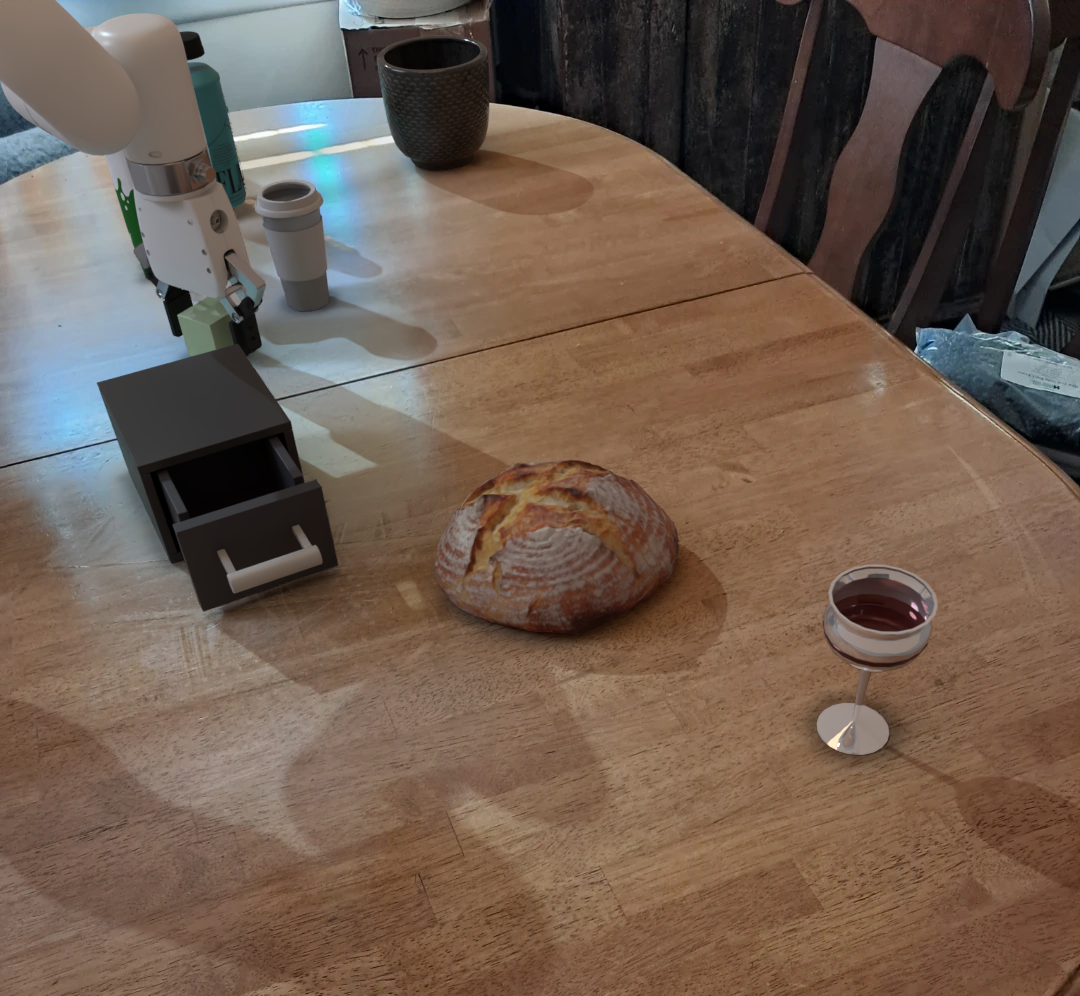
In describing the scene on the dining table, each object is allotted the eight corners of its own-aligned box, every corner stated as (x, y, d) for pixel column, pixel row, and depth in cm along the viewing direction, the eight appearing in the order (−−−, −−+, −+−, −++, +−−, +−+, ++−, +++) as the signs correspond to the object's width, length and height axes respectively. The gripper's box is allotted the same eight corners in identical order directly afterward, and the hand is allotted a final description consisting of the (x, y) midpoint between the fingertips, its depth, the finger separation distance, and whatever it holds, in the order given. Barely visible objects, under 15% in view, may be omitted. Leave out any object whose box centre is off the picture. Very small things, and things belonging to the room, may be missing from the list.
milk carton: (143, 250, 138) (88, 68, 124) (219, 242, 139) (173, 59, 124) (137, 284, 132) (79, 96, 118) (217, 275, 133) (169, 87, 118)
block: (188, 356, 120) (176, 314, 117) (219, 336, 123) (208, 295, 120) (220, 367, 118) (209, 325, 115) (251, 347, 121) (241, 305, 118)
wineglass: (903, 700, 82) (938, 570, 73) (901, 771, 78) (939, 641, 69) (807, 688, 83) (830, 558, 75) (800, 757, 79) (824, 627, 70)
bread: (411, 563, 97) (392, 458, 90) (619, 496, 102) (616, 392, 95) (486, 675, 86) (470, 566, 79) (715, 594, 91) (719, 485, 84)
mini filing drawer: (359, 598, 91) (343, 519, 85) (220, 648, 88) (193, 568, 82) (286, 482, 102) (267, 404, 97) (160, 521, 99) (133, 444, 93)
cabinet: (312, 517, 100) (290, 421, 93) (171, 563, 97) (136, 467, 90) (261, 436, 109) (237, 343, 102) (130, 476, 106) (96, 382, 99)
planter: (516, 156, 153) (510, 48, 144) (440, 190, 147) (428, 79, 137) (444, 131, 160) (435, 27, 151) (368, 163, 153) (353, 56, 144)
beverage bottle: (226, 227, 142) (182, 47, 127) (187, 216, 144) (140, 39, 130) (262, 207, 145) (223, 29, 131) (223, 197, 148) (182, 22, 133)
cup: (277, 319, 125) (252, 208, 116) (274, 291, 129) (250, 182, 121) (343, 310, 126) (323, 199, 117) (337, 283, 130) (318, 173, 121)
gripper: (268, 172, 106) (304, 345, 118) (136, 139, 113) (183, 307, 125) (211, 203, 102) (255, 379, 114) (77, 167, 109) (132, 337, 121)
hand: (217, 341), depth 120 cm, fingers open, 8 cm apart
